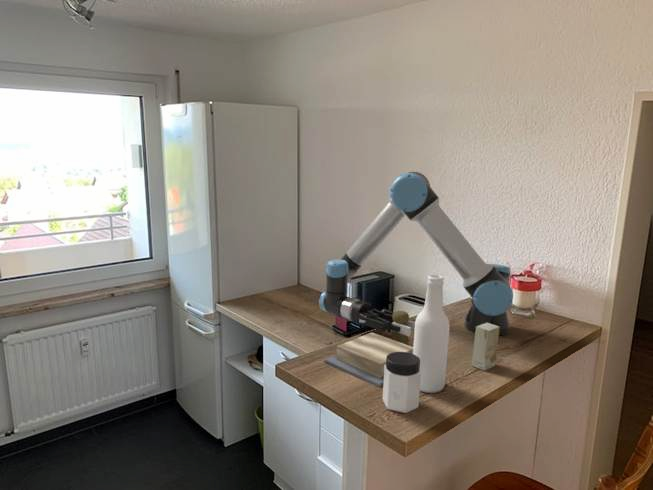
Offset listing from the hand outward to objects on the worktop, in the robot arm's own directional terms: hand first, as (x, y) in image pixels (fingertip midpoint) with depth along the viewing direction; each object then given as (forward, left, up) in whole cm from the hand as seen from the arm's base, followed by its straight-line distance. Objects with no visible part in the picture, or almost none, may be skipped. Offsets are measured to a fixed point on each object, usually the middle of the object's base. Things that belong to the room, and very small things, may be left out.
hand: (414, 330), depth 153 cm
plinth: (+16, -2, -6) cm, 17 cm away
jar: (+30, +17, -7) cm, 35 cm away
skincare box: (-6, +21, -7) cm, 23 cm away
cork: (0, -5, -7) cm, 9 cm away
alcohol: (+17, +16, -7) cm, 24 cm away
